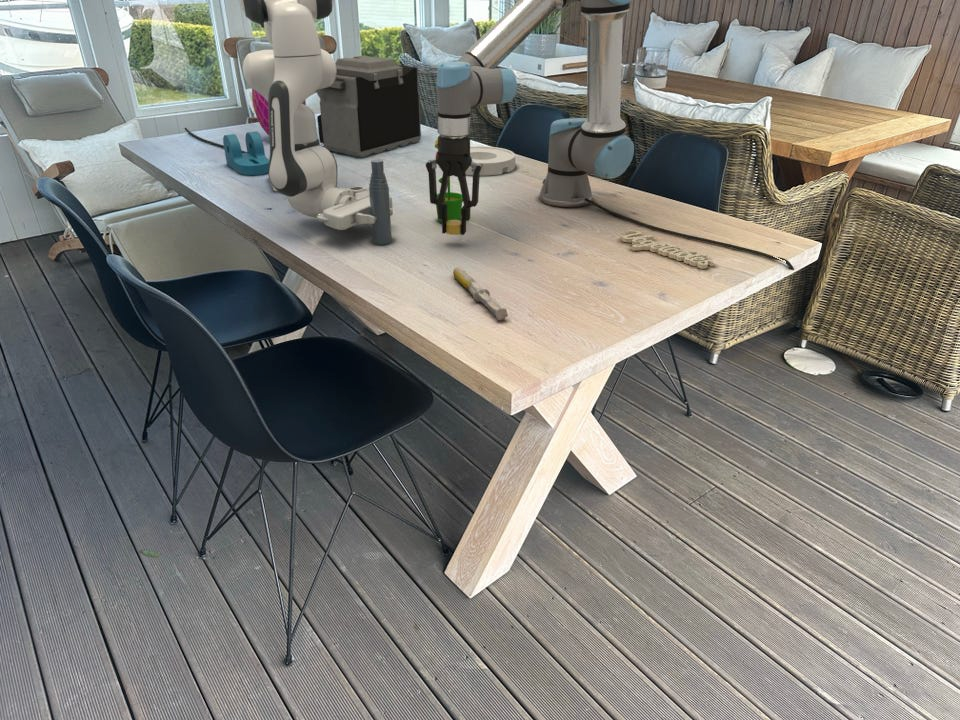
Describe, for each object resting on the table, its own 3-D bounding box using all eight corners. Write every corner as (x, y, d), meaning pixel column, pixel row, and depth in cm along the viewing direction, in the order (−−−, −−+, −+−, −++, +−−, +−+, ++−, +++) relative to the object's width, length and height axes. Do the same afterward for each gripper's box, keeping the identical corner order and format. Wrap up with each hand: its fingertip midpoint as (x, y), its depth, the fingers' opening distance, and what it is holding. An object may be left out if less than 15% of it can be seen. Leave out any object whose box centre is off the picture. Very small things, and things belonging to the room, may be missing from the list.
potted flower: (440, 227, 182) (438, 129, 169) (428, 218, 188) (425, 123, 175) (472, 221, 185) (472, 126, 173) (459, 213, 191) (459, 120, 179)
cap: (450, 228, 172) (450, 218, 171) (465, 230, 170) (465, 221, 169) (443, 233, 169) (443, 223, 167) (458, 235, 167) (458, 226, 166)
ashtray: (449, 157, 245) (449, 145, 243) (514, 158, 244) (514, 146, 242) (444, 174, 225) (444, 162, 223) (515, 176, 224) (515, 164, 222)
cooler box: (383, 133, 276) (378, 52, 261) (425, 141, 265) (422, 56, 250) (314, 150, 251) (304, 61, 235) (358, 160, 240) (350, 67, 224)
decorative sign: (607, 237, 173) (632, 229, 179) (607, 241, 174) (631, 232, 180) (698, 269, 156) (722, 258, 162) (697, 273, 157) (721, 262, 163)
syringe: (449, 274, 155) (449, 263, 153) (465, 272, 156) (464, 260, 154) (490, 323, 135) (491, 310, 133) (508, 319, 136) (508, 307, 134)
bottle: (393, 238, 174) (389, 158, 164) (389, 245, 170) (384, 163, 160) (375, 237, 175) (370, 157, 165) (370, 244, 171) (364, 162, 161)
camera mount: (227, 164, 233) (221, 132, 227) (257, 160, 238) (252, 129, 233) (244, 176, 220) (239, 143, 215) (276, 172, 225) (271, 139, 220)
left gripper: (310, 204, 166) (354, 215, 160) (365, 184, 181) (407, 193, 175) (313, 229, 169) (356, 240, 163) (367, 208, 184) (408, 217, 178)
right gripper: (493, 133, 160) (490, 229, 172) (421, 129, 162) (424, 224, 174) (487, 140, 153) (485, 240, 165) (413, 136, 156) (416, 234, 168)
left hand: (383, 216), depth 169 cm, fingers closed on bottle, 5 cm apart
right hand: (454, 232), depth 170 cm, fingers closed on cap, 4 cm apart
